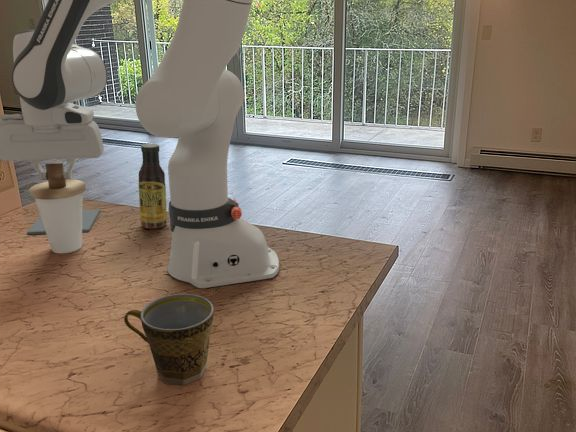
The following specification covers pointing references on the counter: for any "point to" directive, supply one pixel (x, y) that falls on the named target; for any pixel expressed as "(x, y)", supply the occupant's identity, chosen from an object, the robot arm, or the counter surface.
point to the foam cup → (62, 222)
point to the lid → (56, 184)
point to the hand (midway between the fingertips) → (56, 179)
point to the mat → (87, 222)
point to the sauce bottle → (152, 189)
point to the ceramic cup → (177, 335)
